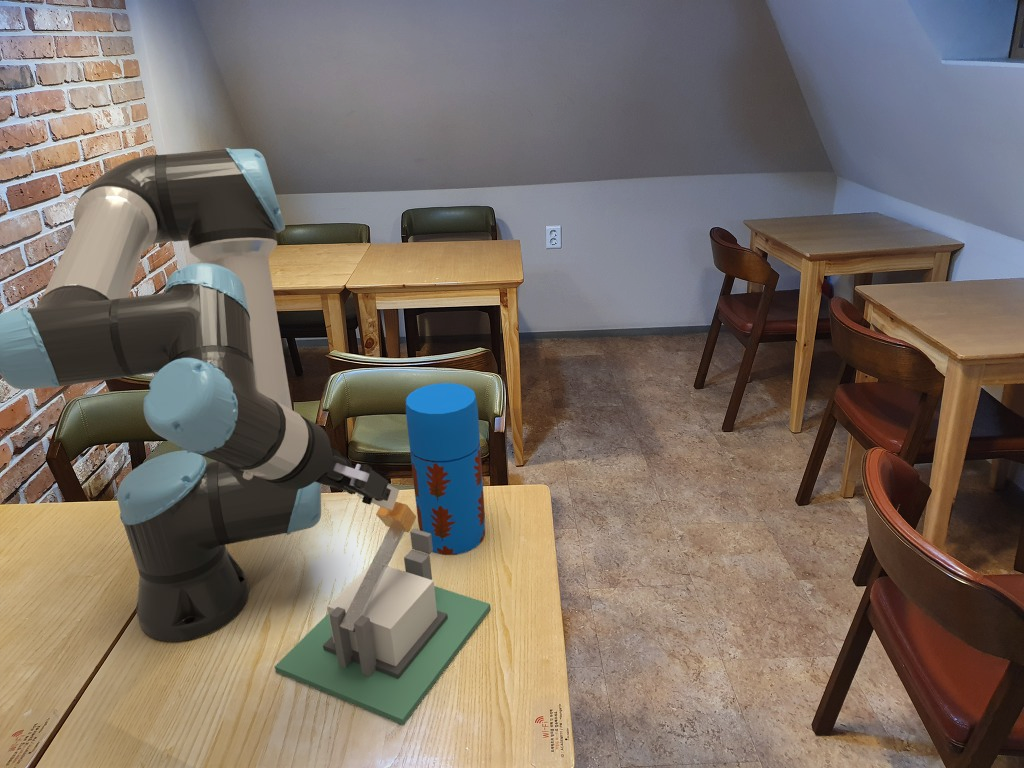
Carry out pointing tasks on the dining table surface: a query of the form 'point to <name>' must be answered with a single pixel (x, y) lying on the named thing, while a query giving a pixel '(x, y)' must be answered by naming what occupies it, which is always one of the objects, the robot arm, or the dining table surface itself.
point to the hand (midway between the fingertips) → (391, 499)
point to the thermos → (447, 466)
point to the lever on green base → (388, 639)
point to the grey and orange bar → (380, 560)
